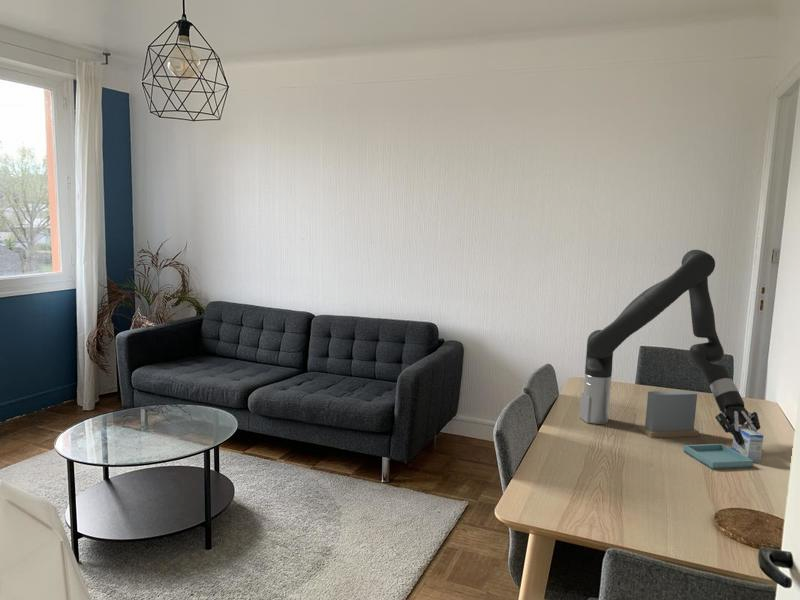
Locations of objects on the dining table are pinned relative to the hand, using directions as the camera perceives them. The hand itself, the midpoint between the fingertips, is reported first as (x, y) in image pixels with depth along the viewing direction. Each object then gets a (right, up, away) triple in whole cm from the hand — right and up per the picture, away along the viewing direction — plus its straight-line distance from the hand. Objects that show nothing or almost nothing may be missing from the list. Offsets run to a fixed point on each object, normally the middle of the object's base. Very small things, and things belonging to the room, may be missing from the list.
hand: (749, 443), depth 185 cm
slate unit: (-16, -1, +21) cm, 26 cm away
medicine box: (0, -5, +1) cm, 5 cm away
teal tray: (-11, -5, -1) cm, 12 cm away
